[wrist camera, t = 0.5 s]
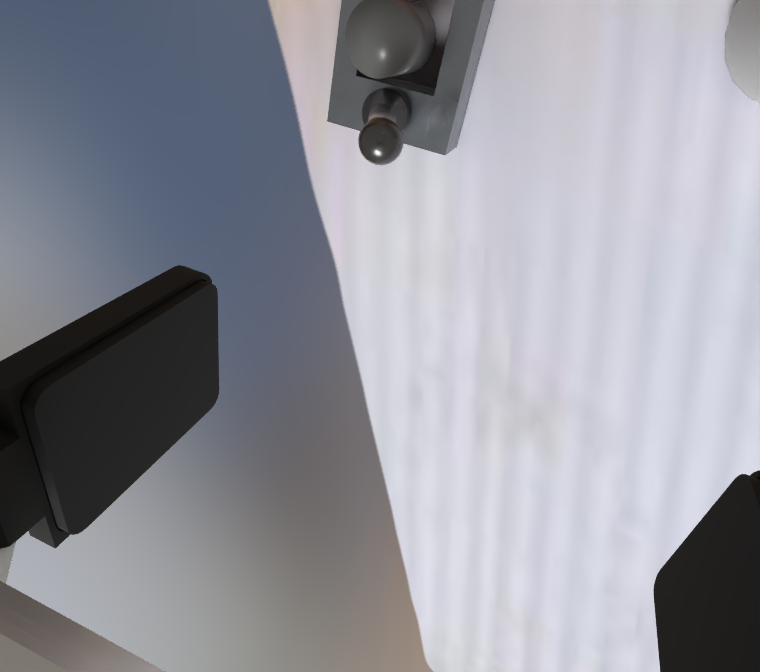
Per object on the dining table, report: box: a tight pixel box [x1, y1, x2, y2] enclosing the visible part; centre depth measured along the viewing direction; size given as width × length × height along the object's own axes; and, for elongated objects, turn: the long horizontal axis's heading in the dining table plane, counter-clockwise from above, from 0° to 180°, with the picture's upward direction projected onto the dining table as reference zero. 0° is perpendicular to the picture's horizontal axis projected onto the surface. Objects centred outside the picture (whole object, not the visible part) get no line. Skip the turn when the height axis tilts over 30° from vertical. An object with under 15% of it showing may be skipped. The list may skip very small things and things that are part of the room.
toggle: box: [359, 104, 403, 165], centre depth 27 cm, size 2×2×7 cm
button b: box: [345, 0, 436, 79], centre depth 28 cm, size 4×4×4 cm
